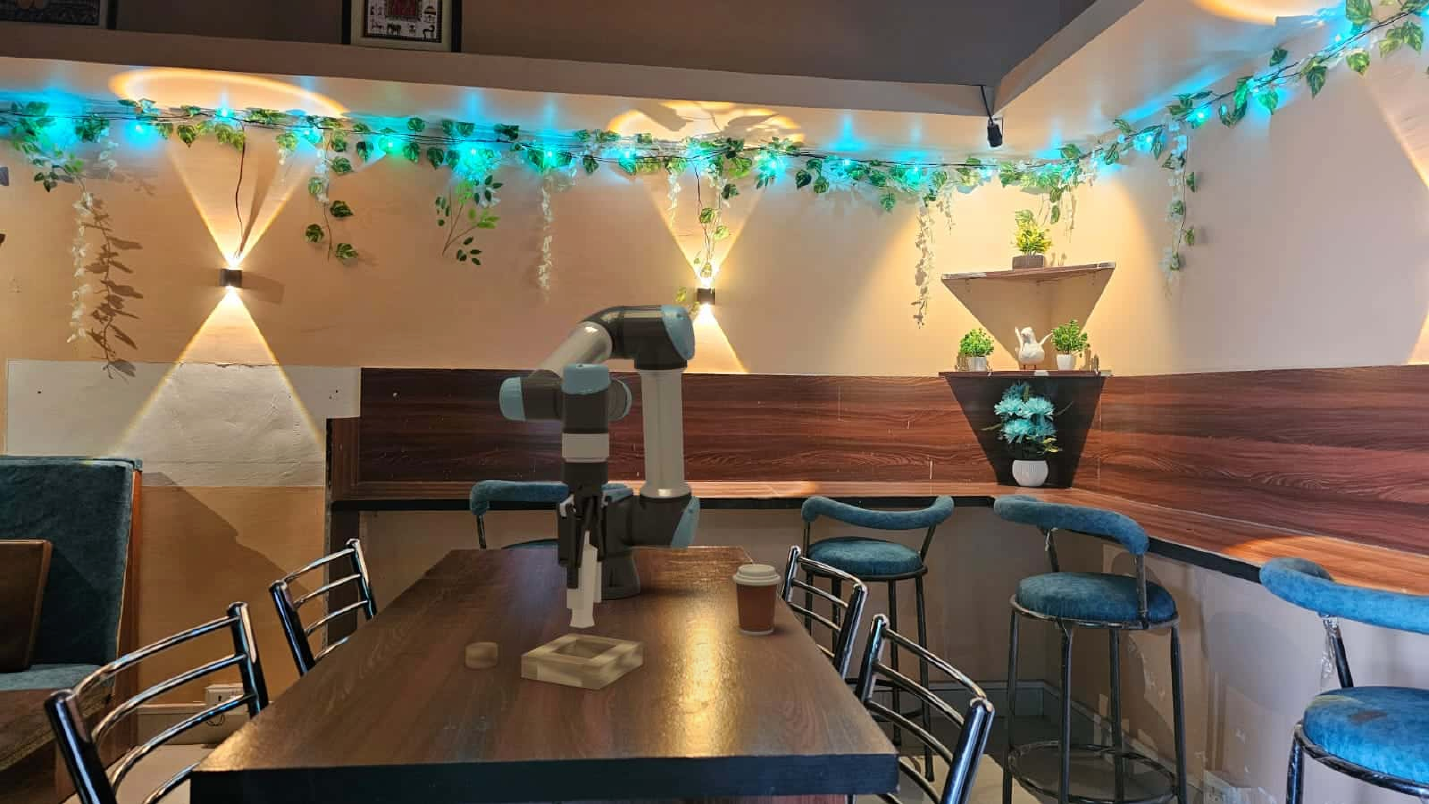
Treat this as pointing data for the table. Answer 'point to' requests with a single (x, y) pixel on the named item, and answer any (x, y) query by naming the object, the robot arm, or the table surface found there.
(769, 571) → the coffee cup
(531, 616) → the table surface
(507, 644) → the table surface
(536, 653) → the square wooden frame
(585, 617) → the perfume bottle
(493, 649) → the brown short cylinder
